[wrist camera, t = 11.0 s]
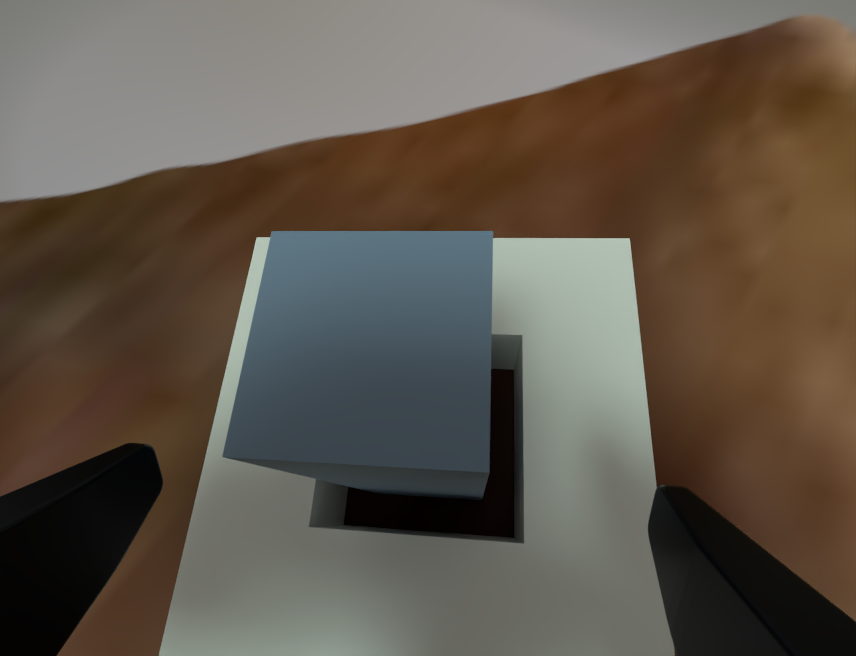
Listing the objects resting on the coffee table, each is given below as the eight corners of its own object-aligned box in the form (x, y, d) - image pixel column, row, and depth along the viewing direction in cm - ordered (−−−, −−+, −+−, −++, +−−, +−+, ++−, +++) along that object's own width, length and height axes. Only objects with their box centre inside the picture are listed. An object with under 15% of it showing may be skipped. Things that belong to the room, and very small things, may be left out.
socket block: (602, 288, 20) (629, 238, 17) (632, 674, 15) (682, 724, 12) (293, 284, 22) (256, 237, 18) (227, 631, 17) (156, 663, 13)
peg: (484, 396, 19) (492, 230, 8) (481, 500, 18) (489, 472, 7) (387, 392, 20) (271, 231, 9) (378, 493, 18) (221, 456, 7)
